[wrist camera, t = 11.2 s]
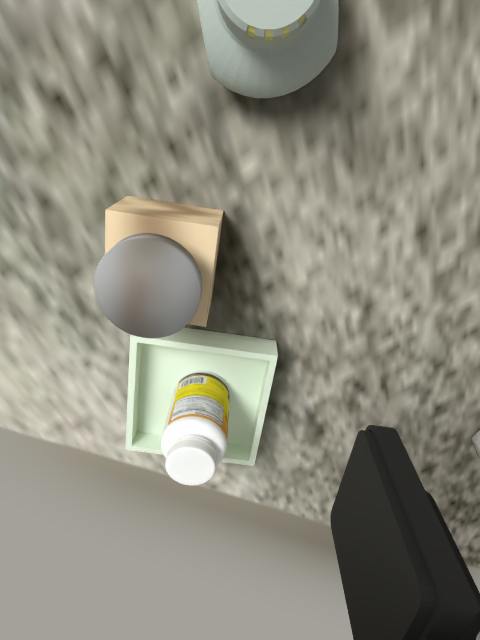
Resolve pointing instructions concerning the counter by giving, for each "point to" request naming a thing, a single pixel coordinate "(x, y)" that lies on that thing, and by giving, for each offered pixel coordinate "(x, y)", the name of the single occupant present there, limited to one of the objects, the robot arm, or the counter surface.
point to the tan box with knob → (157, 266)
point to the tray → (190, 356)
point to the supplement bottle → (196, 428)
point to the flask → (477, 442)
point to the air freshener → (268, 43)
